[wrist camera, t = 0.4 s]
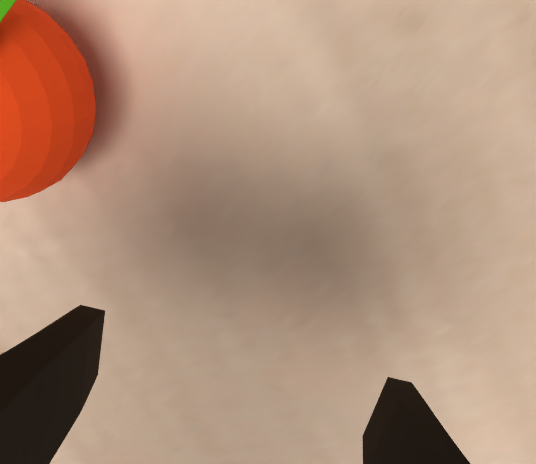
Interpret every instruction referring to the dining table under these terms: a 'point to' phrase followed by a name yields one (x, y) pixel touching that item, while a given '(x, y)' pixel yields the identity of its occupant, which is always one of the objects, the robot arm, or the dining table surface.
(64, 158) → the clementine
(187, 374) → the dining table surface
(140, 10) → the dining table surface
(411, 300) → the dining table surface
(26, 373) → the robot arm
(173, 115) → the dining table surface
